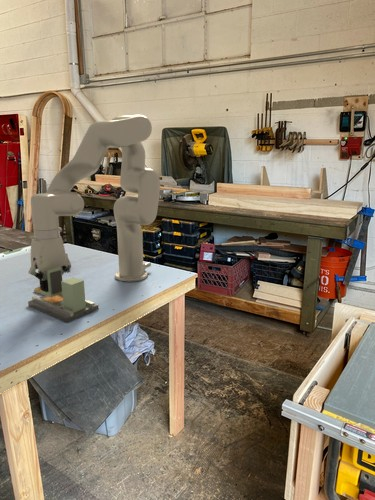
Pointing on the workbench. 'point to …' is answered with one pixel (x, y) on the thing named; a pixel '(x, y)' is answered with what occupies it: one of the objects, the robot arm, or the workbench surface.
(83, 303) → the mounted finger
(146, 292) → the workbench surface
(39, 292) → the shard
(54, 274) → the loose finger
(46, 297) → the dark grey tray
